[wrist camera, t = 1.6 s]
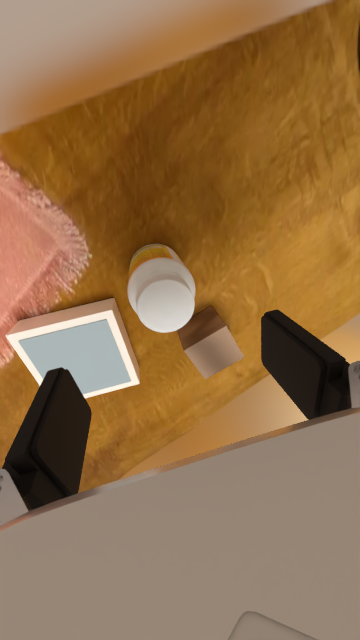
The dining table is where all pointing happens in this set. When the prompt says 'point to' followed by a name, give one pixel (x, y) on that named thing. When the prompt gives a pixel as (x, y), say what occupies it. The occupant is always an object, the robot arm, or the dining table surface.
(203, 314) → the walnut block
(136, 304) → the supplement bottle
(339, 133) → the dining table surface
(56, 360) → the base
